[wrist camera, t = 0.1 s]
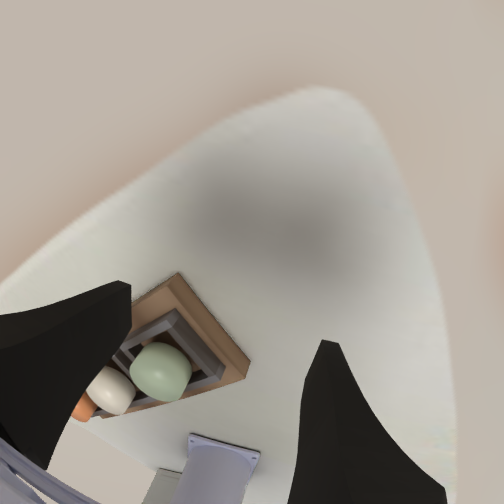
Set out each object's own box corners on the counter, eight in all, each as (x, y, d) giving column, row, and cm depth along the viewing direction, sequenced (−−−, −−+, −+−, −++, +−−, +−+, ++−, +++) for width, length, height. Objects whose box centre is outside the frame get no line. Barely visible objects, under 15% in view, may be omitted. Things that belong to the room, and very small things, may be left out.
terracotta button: (76, 378, 26) (65, 391, 24) (104, 406, 26) (94, 420, 25) (61, 385, 27) (51, 396, 25) (86, 411, 28) (77, 423, 26)
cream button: (111, 361, 23) (99, 376, 21) (144, 395, 24) (134, 411, 22) (89, 372, 24) (78, 385, 23) (119, 402, 25) (109, 417, 23)
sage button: (166, 334, 20) (153, 352, 19) (203, 375, 21) (194, 395, 19) (132, 351, 22) (119, 368, 20) (166, 388, 23) (156, 405, 21)
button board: (178, 272, 22) (156, 296, 19) (250, 361, 24) (240, 392, 21) (58, 352, 30) (41, 370, 27) (110, 407, 32) (96, 427, 29)
